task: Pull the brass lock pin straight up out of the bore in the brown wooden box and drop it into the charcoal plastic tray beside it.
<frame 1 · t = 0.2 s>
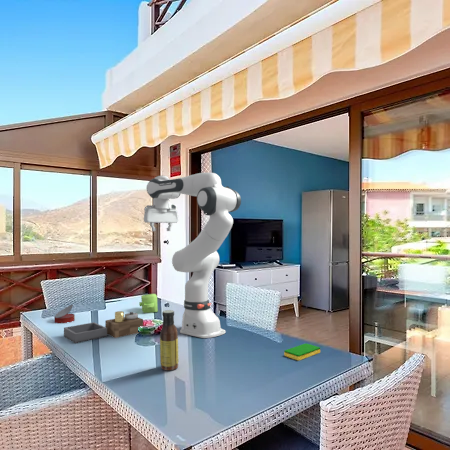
hand: (161, 231, 197), 48 cm above the table, tool pointing down, fingers open, 8 cm apart
dish sponge: (302, 355, 140), on the table
brown wooden box: (124, 332, 169), on the table
canned food: (64, 321, 191), on the table
sauce bottle: (169, 368, 126), on the table
lock pin: (119, 333, 168), resting in brown wooden box
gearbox: (148, 311, 215), on the table
pin tray: (85, 336, 163), on the table
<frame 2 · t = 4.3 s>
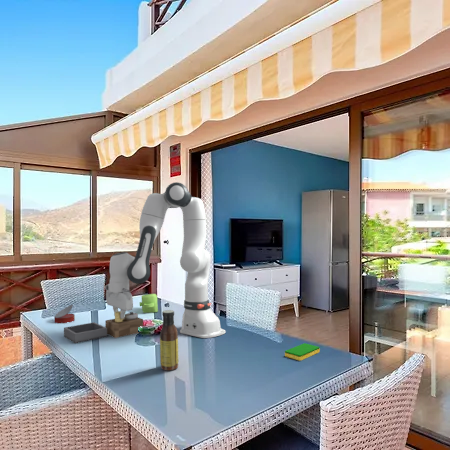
hand: (119, 317, 168), 8 cm above the table, tool pointing down, fingers closed on lock pin, 4 cm apart
lock pin: (119, 333, 167), resting in brown wooden box, touching gripper
everything else where it was.
when the fingers open (11 cm above the table, at t = 11.2 s): lock pin drops 2 cm, resting on pin tray.
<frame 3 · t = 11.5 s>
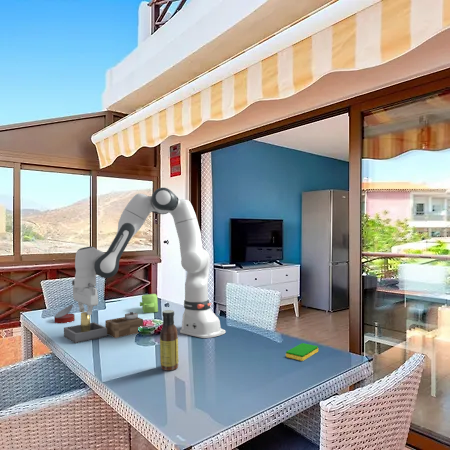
hand: (85, 313, 163), 11 cm above the table, tool pointing down, fingers open, 7 cm apart
lock pin: (85, 334, 163), point 1 cm above the table, touching pin tray
everything else where it was.
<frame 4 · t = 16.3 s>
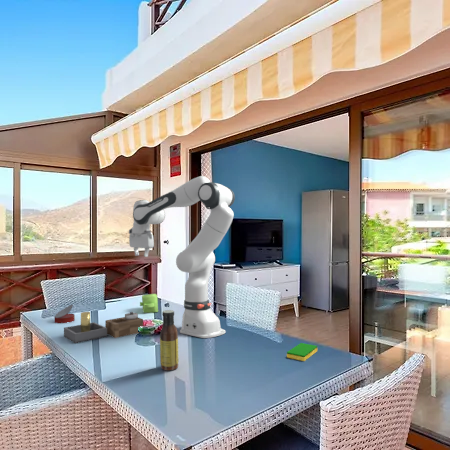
hand: (141, 256, 194), 34 cm above the table, tool pointing down, fingers open, 8 cm apart
nothing on the table moved.
at the end: lock pin inside the target area on the pin tray (0.1 cm from its centre), point 0.8 cm above the pin tray's base; the gripper is holding nothing; lock pin moved 14.7 cm from its start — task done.
